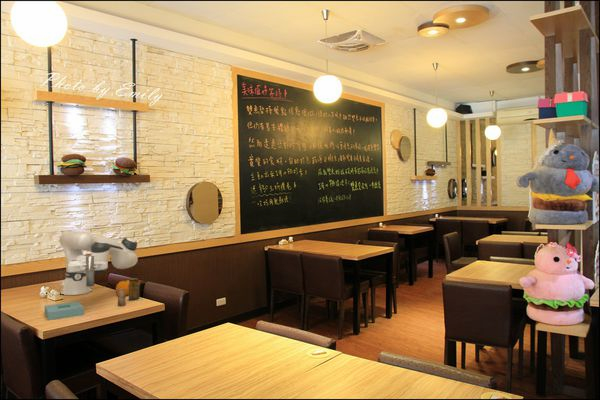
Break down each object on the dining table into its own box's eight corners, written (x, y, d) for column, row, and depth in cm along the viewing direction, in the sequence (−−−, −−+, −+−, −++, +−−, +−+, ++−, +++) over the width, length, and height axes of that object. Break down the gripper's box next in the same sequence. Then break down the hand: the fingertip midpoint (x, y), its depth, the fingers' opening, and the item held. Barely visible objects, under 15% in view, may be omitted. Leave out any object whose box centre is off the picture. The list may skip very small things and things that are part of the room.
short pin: (117, 305, 249) (116, 289, 249) (124, 304, 251) (124, 288, 251) (118, 306, 246) (118, 290, 246) (126, 305, 248) (126, 289, 248)
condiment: (137, 296, 269) (137, 277, 269) (142, 299, 262) (142, 279, 262) (125, 298, 264) (125, 278, 264) (130, 301, 258) (130, 281, 258)
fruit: (111, 296, 271) (111, 279, 271) (124, 291, 282) (124, 276, 282) (127, 297, 268) (126, 281, 267) (139, 293, 279) (139, 277, 278)
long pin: (85, 285, 239) (85, 256, 239) (93, 284, 242) (93, 255, 241) (87, 286, 236) (86, 257, 236) (95, 285, 238) (94, 256, 238)
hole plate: (44, 313, 233) (44, 305, 233) (78, 308, 243) (77, 301, 243) (48, 320, 220) (48, 312, 220) (83, 314, 230) (83, 307, 230)
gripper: (105, 268, 255) (110, 272, 244) (65, 272, 243) (69, 276, 232) (105, 257, 255) (110, 260, 244) (65, 261, 243) (69, 264, 232)
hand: (90, 268), depth 238 cm, fingers closed on long pin, 4 cm apart
